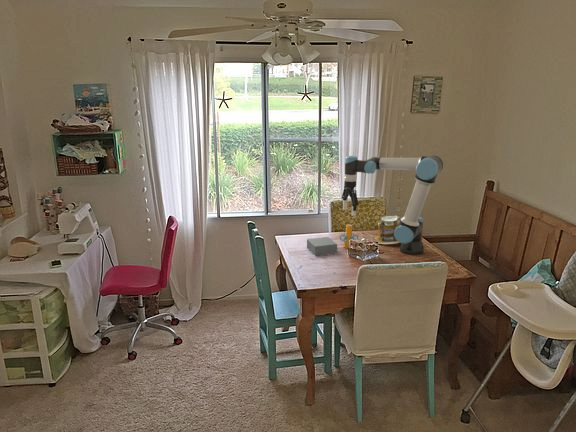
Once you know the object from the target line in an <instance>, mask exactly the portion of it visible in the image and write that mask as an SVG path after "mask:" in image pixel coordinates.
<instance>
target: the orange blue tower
mask: <svg viewBox="0 0 576 432" xmlns="http://www.w3.org/2000/svg"><path fill="white" fill-rule="evenodd" d="M342 236H343V238H341V237H342ZM354 237H356V239H358V240H359V236H358V235H357V234H354V233H353V224H346V225H345V232H344V233H343V234H339V240H340V241H342V242H343V247H344V248H345V249H349V248H348V245H349V240H350V239H353V240H355V238H354Z"/></svg>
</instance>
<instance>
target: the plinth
mask: <svg viewBox="0 0 576 432" xmlns="http://www.w3.org/2000/svg"><path fill="white" fill-rule="evenodd" d="M306 248H307V250H308V251H310V253H312V255H314V256H322V255H330V254H331V255H332V254H337V253H338V243H337V242H335V241H334V240H333V239H332V238H331V237H329V236H325V237H315V238H307V239H306Z"/></svg>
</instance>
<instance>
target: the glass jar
mask: <svg viewBox="0 0 576 432" xmlns="http://www.w3.org/2000/svg"><path fill="white" fill-rule="evenodd" d="M399 222H400V220H399V217H398V215H385V216H381V218H380V221H379V222H378V223H377V224H378V230H379V232H378V235H376V236H375V237H374V238H375V239H376V240H377V242H378V243H377V244H380V245H381V244H382V245H394V244H399V243H400V242H399V241H397V240H396V238H395V236H394V231H395V229H396V228H397V227H398V225H399ZM400 244H401V243H400Z"/></svg>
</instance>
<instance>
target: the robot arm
mask: <svg viewBox="0 0 576 432" xmlns="http://www.w3.org/2000/svg"><path fill="white" fill-rule="evenodd" d="M443 169H444V161H443V159H442V158H441V157H440V156H437V155H435V154H434V155H422V156H420V157H378V156H373V157H371V158H369V159H364V160H362V159H361V160H360V159H358V156H356V155H346V157H345V160H344V175H343V177H344V181H343V182H344V183H343V190H342V195H341V199H342V201H343V202H342V211H347V210H348V201H349V200H348V198H349V197H350V201H351V204H352V205H351V216H352V217H353V216H354V217H355V216H357V207H358V206H359V200H358V194H357V190H356V189H355V188H356V187H357V177H358V176H357V175H358V174H357V173H363V174H374V173H376V171H378V170H385V171H386V170H392V171H415V175H414V179H415V181H416V182H415V184H414V186H413V190H412V192H411V196H410V198H409V201H408V204H407V207H406V210H405V213H404V216H402V217H400V222H399V225H398V227H397V228H396V229H395V231H394V236H395V238H396V240H397V241H399V242H400V245H399V252H401V253H402V254H404V255H410V256H417V255H418V256H419V255H422V254H424V252H425V248H424V244H423V241H422V240H423V227H424V218H423V217H421V213H422V211H423V209H424V205H425V203H426V199H427V197H428V194H429V193H430V189H431V186H432V185H434V184H435V183H436V180H437V178H438V174H440V173H441V172H442V171H443Z"/></svg>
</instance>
